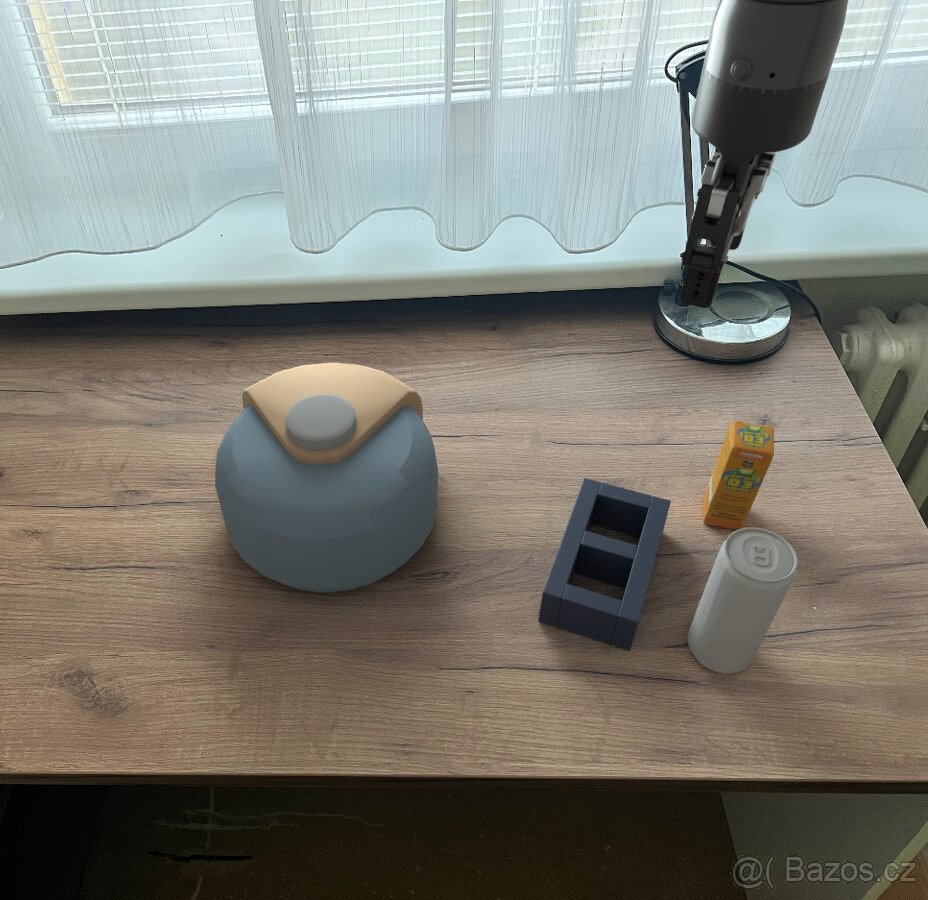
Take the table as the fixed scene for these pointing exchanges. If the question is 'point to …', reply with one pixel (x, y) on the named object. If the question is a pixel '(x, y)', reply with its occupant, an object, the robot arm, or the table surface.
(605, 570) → the holder
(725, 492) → the supplement box
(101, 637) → the table surface
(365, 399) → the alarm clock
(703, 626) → the beverage can
